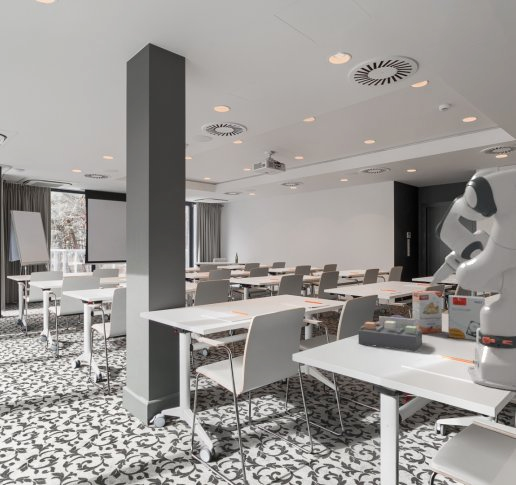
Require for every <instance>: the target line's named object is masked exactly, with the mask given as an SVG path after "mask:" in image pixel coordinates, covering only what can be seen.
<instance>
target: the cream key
mask: <svg viewBox="0 0 516 485" xmlns="http://www.w3.org/2000/svg"><path fill="white" fill-rule="evenodd" d="M395 327H396V322H395V321H385V322H384V328H390V329H394V328H395Z"/></svg>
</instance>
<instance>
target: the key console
mask: <svg viewBox="0 0 516 485" xmlns="http://www.w3.org/2000/svg"><path fill="white" fill-rule="evenodd" d="M378 321H379V322H378V325H376V328H375V329H373V330H372V329H365V327H364V325H362V326H361V327H360V328H359V329H358V344H359V345H364V344H367V346H371V345H376V346H375V347H379V346H382V347H381V348H387V347H389V348H388V349H394V348H395V350H402V351H409V352H410V351H411V352H417V351H418V350H419V349H420V347H422V345H423V333H422V331H421V329H419V330H418V331H417V332H416V333H415V334H409V333H405V327H406V326H414V319H413V318H405V317H404V318H394V317H391V316H380V315H379V317H378ZM385 321H395V322H396V327H395V328H394V329H390V328H384V322H385Z"/></svg>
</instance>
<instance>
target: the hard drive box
mask: <svg viewBox="0 0 516 485" xmlns="http://www.w3.org/2000/svg"><path fill="white" fill-rule="evenodd" d="M485 301H486V299H485V297H484V296H475V295H458V294H457V295H456V294H449V295H448V304H447V305H448V314H447V316H448V329H447V330H448V336H447V337H448V338H454V339H465V340H474V341H477V339H476V330H477V329H478V328H480V311H481V309H482V307H483V306H485V305H486V303H485Z"/></svg>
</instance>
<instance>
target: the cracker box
mask: <svg viewBox="0 0 516 485" xmlns="http://www.w3.org/2000/svg"><path fill="white" fill-rule="evenodd" d="M412 319H414V326H417V331H418V330H419V329H421V331H422V334H431V333H432V334H433V333H442V332H443V292H441V291H438V290H428V291H427V290H425V291H424V290H423V291H412Z"/></svg>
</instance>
